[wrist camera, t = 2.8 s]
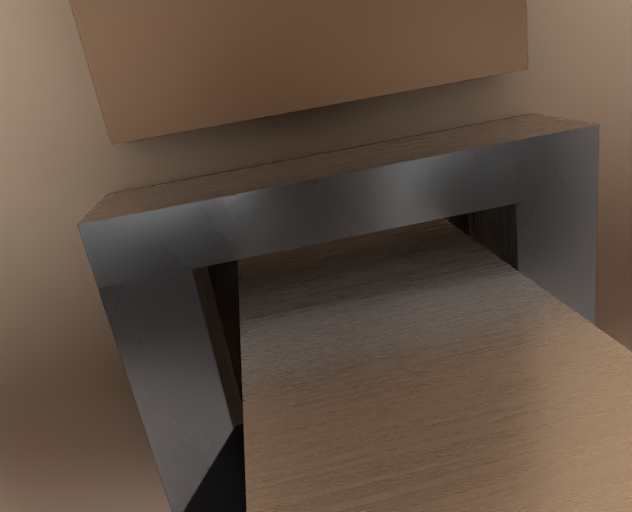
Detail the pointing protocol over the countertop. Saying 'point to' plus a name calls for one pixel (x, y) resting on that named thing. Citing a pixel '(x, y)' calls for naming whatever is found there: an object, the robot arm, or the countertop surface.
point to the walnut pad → (282, 55)
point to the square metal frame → (317, 227)
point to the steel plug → (425, 383)
